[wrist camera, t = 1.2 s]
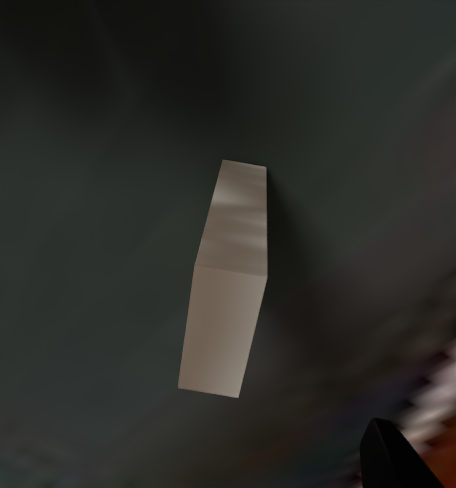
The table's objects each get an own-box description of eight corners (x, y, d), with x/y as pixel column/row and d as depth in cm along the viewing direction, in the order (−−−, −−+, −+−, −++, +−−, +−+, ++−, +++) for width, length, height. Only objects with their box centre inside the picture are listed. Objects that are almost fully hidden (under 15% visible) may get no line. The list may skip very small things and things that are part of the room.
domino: (266, 166, 20) (267, 277, 12) (247, 256, 22) (238, 397, 14) (221, 159, 20) (192, 264, 12) (207, 249, 22) (175, 387, 14)
